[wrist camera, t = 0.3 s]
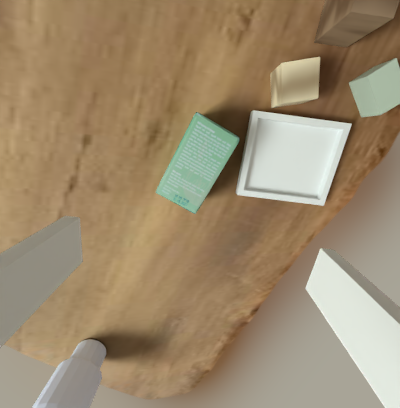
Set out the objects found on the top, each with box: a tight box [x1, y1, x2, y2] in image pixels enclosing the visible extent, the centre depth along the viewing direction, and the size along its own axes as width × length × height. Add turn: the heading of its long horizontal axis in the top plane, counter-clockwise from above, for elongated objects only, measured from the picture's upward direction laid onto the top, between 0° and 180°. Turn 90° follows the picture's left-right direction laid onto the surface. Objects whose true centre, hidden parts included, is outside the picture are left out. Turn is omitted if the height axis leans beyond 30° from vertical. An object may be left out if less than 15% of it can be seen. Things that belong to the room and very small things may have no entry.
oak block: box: [270, 57, 320, 108], centre depth 30 cm, size 5×5×5 cm
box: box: [156, 112, 239, 214], centre depth 33 cm, size 7×14×8 cm, turn 151°
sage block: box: [349, 58, 400, 117], centre depth 31 cm, size 6×4×4 cm, turn 33°
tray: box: [236, 110, 352, 206], centre depth 35 cm, size 14×16×2 cm
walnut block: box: [314, 0, 400, 47], centre depth 26 cm, size 5×5×8 cm
